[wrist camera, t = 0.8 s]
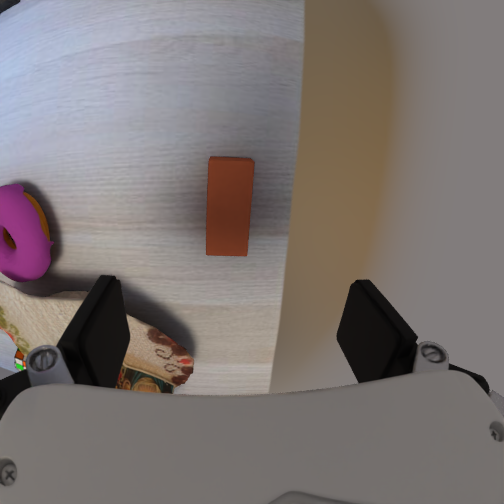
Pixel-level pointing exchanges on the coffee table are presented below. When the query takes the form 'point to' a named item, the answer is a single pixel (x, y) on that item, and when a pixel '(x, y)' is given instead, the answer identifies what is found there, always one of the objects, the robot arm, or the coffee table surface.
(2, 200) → the donut
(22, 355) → the rubik's cube
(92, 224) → the coffee table surface
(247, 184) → the orange rectangular block
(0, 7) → the backing frame
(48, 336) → the religious ornament
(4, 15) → the coffee table surface
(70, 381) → the robot arm
